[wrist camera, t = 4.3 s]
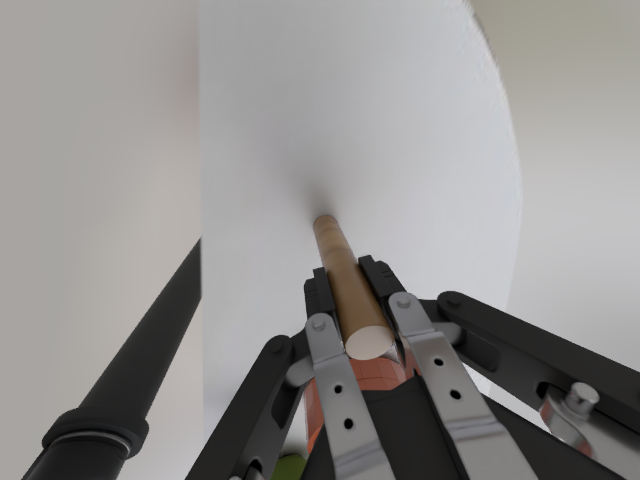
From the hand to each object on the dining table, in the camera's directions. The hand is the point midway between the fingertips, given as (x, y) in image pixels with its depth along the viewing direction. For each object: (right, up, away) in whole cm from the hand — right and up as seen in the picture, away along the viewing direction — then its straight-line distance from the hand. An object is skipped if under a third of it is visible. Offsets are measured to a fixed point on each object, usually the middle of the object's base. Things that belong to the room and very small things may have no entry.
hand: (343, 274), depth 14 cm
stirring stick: (-1, +3, +6) cm, 7 cm away
